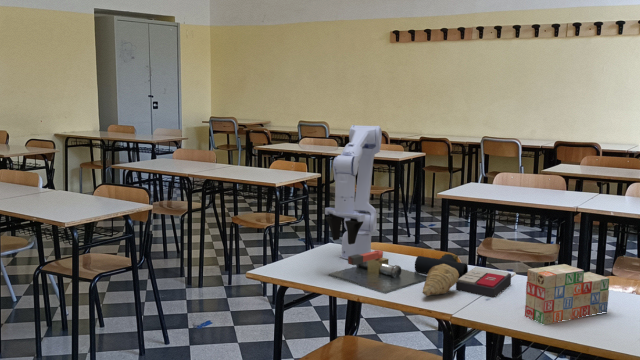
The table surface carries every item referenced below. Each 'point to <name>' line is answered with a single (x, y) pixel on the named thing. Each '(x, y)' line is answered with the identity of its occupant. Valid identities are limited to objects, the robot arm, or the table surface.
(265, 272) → the table surface
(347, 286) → the table surface
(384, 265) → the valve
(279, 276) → the table surface
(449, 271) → the seashell
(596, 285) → the stack of blocks
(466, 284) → the calculator
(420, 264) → the pipe connector
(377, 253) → the lever
